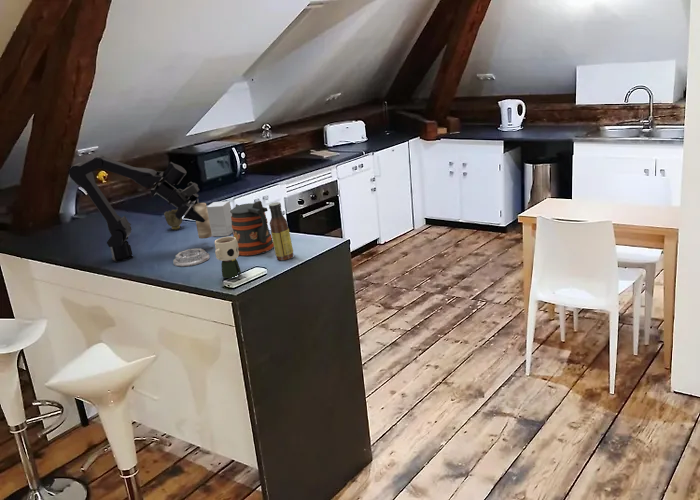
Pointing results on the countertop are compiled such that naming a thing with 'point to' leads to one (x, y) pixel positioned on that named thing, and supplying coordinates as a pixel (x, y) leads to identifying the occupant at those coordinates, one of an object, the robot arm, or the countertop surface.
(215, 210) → the supplement box
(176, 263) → the socket ring
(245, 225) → the beer stein
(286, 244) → the sauce bottle
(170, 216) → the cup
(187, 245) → the countertop surface
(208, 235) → the knob post
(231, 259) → the character mug
